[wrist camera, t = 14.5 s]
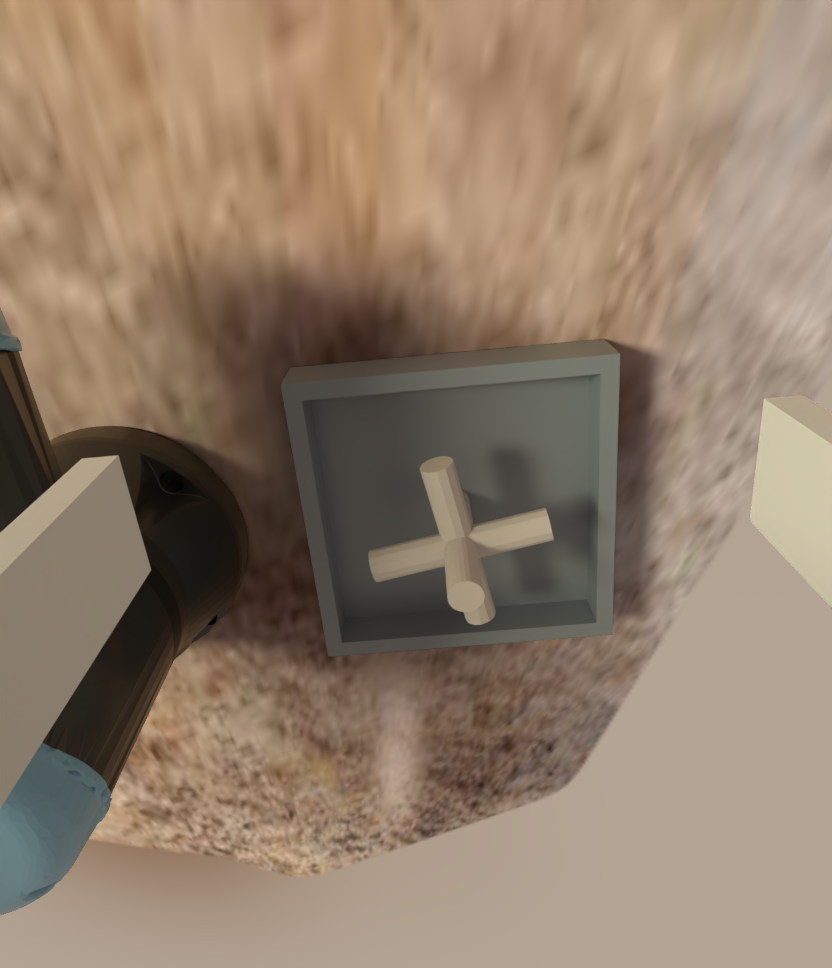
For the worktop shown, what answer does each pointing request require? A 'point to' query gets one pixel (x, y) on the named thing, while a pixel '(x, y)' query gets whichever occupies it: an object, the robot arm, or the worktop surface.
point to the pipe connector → (459, 543)
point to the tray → (482, 475)
